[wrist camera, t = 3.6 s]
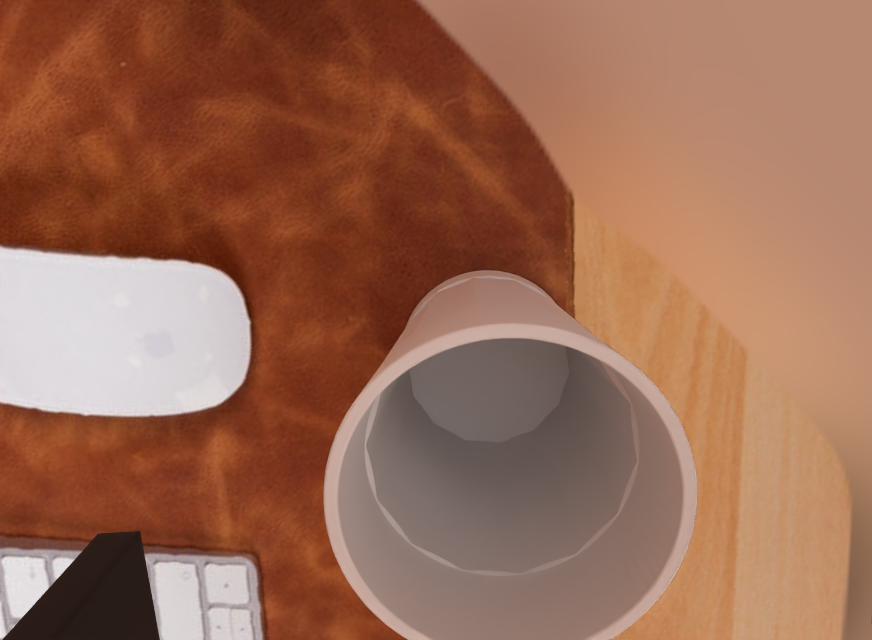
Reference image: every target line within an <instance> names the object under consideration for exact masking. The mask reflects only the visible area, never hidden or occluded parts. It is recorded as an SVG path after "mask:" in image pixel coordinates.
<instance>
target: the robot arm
mask: <svg viewBox="0 0 872 640" xmlns="http://www.w3.org/2000/svg"><path fill="white" fill-rule="evenodd" d="M3 640H160V638H159V633H158V627H157V622H156V616H155V611H154V605H153V600H152V594H151V589H150V583H149V578H148V572H147V567H146V561H145V556H144V550H143V545H142V539H141V534H140V531H134V532H118V533H102V534H98V535H97V536H96V537H95V538H94V539H93V540H92V541H91V542H90V544H89V545H88V546H87V547H86V548H85V549H84V550H83V551H82V552H81V553H80V555H79V556H78V557H77V558H76V559H75V560H74V561H73V562H72V563H71V565H70V566H69V567H68V568H67V569H66V570H65V571H64V572H63V573H62V574H61V576H60V577H59V578H58V579H57V580H56V581H55V582H54V583H53V584H52V586H51V587H50V588H49V589H48V590H47V591H46V592H45V593H44V594H43V595H42V597H41V598H40V599H39V600H38V601H37V602H36V603H35V604H34V605H33V607H32V608H31V609H30V610H29V611H28V612H27V613H26V614H25V615H24V616H23V618H22V619H21V620H20V621H19V622H18V623H17V624H16V625H15V626H14V628H13V629H12V630H11V631H10V632H9V633H8V634H7V635H6V636H5V637H4V639H3Z"/></svg>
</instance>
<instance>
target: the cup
mask: <svg viewBox="0 0 872 640" xmlns="http://www.w3.org/2000/svg"><path fill="white" fill-rule="evenodd" d="M696 510H697V477H696V469H695V464H694V459H693V455H692V451H691V447H690V444H689V441H688V438H687V436H686V433H685V431H684V429H683V426H682V424H681V422H680V420H679V418H678V416H677V415H676V413H675V411H674V410H673V408H672V406H671V405H670V403H669V402H668V400H667V399H666V398H665V396H664V395H663V394H662V392H661V391H660V390H659V389H658V388H657V386H656V385H655V384H654V383H653V382H652V381H651V380H650V379H649V378H648V377H647V376H646V375H645V374H644V373H643V372H642V371H641V370H640V369H639V368H637V367H636V366H635V365H634V364H632V363H631V362H630V361H629V360H627V359H626V358H624V357H623V356H622V355H620V354H619V353H618V352H616V351H615V350H614V349H612V348H611V347H610V346H608V345H607V344H606V343H604V342H603V341H601V340H600V339H599V338H597V337H596V336H595V335H593V334H592V333H591V332H590V331H588V330H587V329H586V328H585V327H583V326H582V325H581V324H580V323H579V322H577V321H576V320H575V319H574V318H572V317H571V316H570V315H569V314H568V313H566V312H565V311H564V310H563V309H561V308H560V307H559V306H558V305H557V304H556V303H555V302H554V300H553V299H552V298H551V297H550V296H549V295H548V294H547V293H546V292H545V291H544V290H542V289H541V288H540V287H538V286H537V285H535V284H534V283H532V282H531V281H529V280H527V279H525V278H523V277H520V276H517V275H515V274H511V273H507V272H502V271H494V270H481V271H473V272H468V273H464V274H460V275H458V276H455V277H452V278H450V279H448V280H446V281H444V282H443V283H441V284H439V285H438V286H436V287H435V288H434V289H432V290H431V291H430V292H429V293H428V294H427V295H426V296H425V297H424V298H423V299H422V300H421V301H420V302H419V304H418V305H417V306H416V308H415V309H414V311H413V312H412V314H411V316H410V318H409V320H408V322H407V325H406V328H405V329H404V331H403V333H402V334H401V336H400V337H399V339H398V340H397V342H396V343H395V345H394V346H393V348H392V349H391V351H390V352H389V354H388V355H387V357H386V358H385V360H384V361H383V363H382V364H381V366H380V367H379V368H378V370H377V371H376V372H375V374H374V375H373V377H372V378H371V379H370V381H369V382H368V383H367V385H366V386H365V388H364V389H363V390H362V392H361V393H360V394H359V396H358V397H357V399H356V400H355V401H354V403H353V404H352V406H351V407H350V409H349V410H348V412H347V414H346V415H345V417H344V419H343V421H342V423H341V425H340V427H339V429H338V431H337V433H336V436H335V438H334V441H333V444H332V447H331V450H330V453H329V457H328V461H327V466H326V472H325V479H324V513H325V521H326V527H327V531H328V535H329V539H330V543H331V546H332V549H333V552H334V554H335V557H336V559H337V561H338V564H339V566H340V568H341V570H342V572H343V574H344V575H345V577H346V579H347V580H348V582H349V584H350V585H351V587H352V588H353V590H354V591H355V592H356V594H357V595H358V596H359V598H360V599H361V600H362V601H363V602H364V604H365V605H366V606H367V607H368V608H369V609H370V610H371V611H372V612H373V613H374V614H375V615H376V616H377V617H378V618H379V619H380V620H381V621H383V622H384V623H385V624H386V625H387V626H389V627H390V628H391V629H393V630H394V631H395V632H397V633H398V634H400V635H401V636H403V637H404V638H406V639H408V640H610V639H612V638H614V637H615V636H617V635H618V634H620V633H621V632H623V631H624V630H626V629H627V628H628V627H630V626H631V625H632V624H633V623H635V622H636V621H637V620H638V619H639V618H640V617H641V616H643V615H644V614H645V613H646V612H647V611H648V610H649V609H650V608H651V607H652V605H653V604H654V603H655V602H656V601H657V600H658V599H659V597H660V596H661V595H662V594H663V592H664V591H665V590H666V588H667V587H668V585H669V584H670V583H671V581H672V579H673V578H674V576H675V574H676V573H677V571H678V569H679V567H680V565H681V563H682V561H683V558H684V556H685V554H686V551H687V548H688V546H689V543H690V540H691V536H692V532H693V528H694V523H695V517H696Z"/></svg>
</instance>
